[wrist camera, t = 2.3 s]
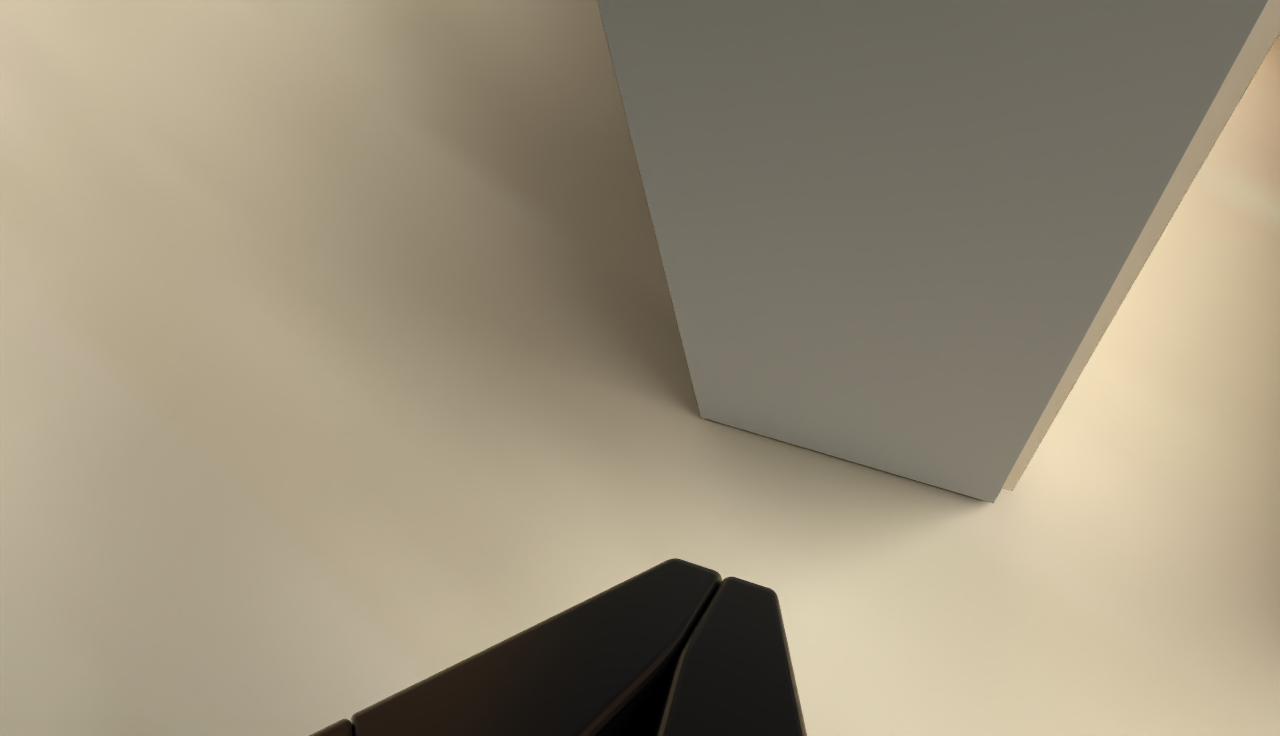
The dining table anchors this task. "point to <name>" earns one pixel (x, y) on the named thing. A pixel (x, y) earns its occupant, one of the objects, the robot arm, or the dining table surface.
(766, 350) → the boxed book
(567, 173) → the dining table surface
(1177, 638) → the dining table surface
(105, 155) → the dining table surface
